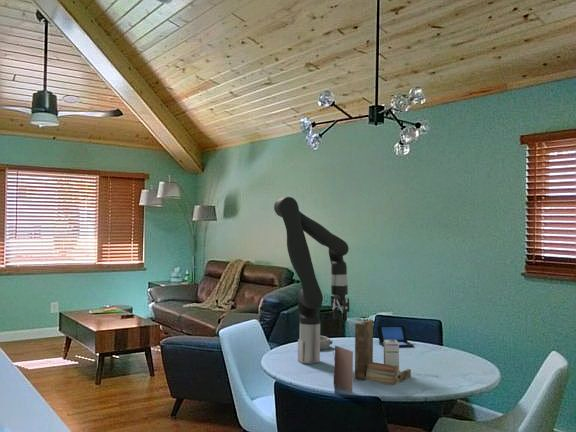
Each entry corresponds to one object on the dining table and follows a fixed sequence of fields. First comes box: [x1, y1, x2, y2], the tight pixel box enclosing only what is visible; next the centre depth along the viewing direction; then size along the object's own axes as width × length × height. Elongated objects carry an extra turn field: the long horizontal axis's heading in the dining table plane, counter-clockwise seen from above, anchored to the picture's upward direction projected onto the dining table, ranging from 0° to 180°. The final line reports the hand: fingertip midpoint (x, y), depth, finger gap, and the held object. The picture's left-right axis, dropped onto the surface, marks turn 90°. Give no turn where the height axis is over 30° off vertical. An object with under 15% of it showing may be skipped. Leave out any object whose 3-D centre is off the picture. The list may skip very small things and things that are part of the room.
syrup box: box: [383, 340, 400, 371], centre depth 220 cm, size 6×6×14 cm
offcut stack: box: [365, 361, 401, 386], centre depth 214 cm, size 6×12×6 cm, turn 53°
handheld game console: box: [376, 324, 415, 349], centre depth 280 cm, size 16×13×9 cm
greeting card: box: [332, 345, 354, 394], centre depth 202 cm, size 11×7×15 cm, turn 175°
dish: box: [320, 335, 334, 350], centre depth 272 cm, size 14×14×5 cm
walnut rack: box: [354, 319, 412, 383], centre depth 218 cm, size 18×16×22 cm
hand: (340, 319), depth 247 cm, fingers open, 8 cm apart
